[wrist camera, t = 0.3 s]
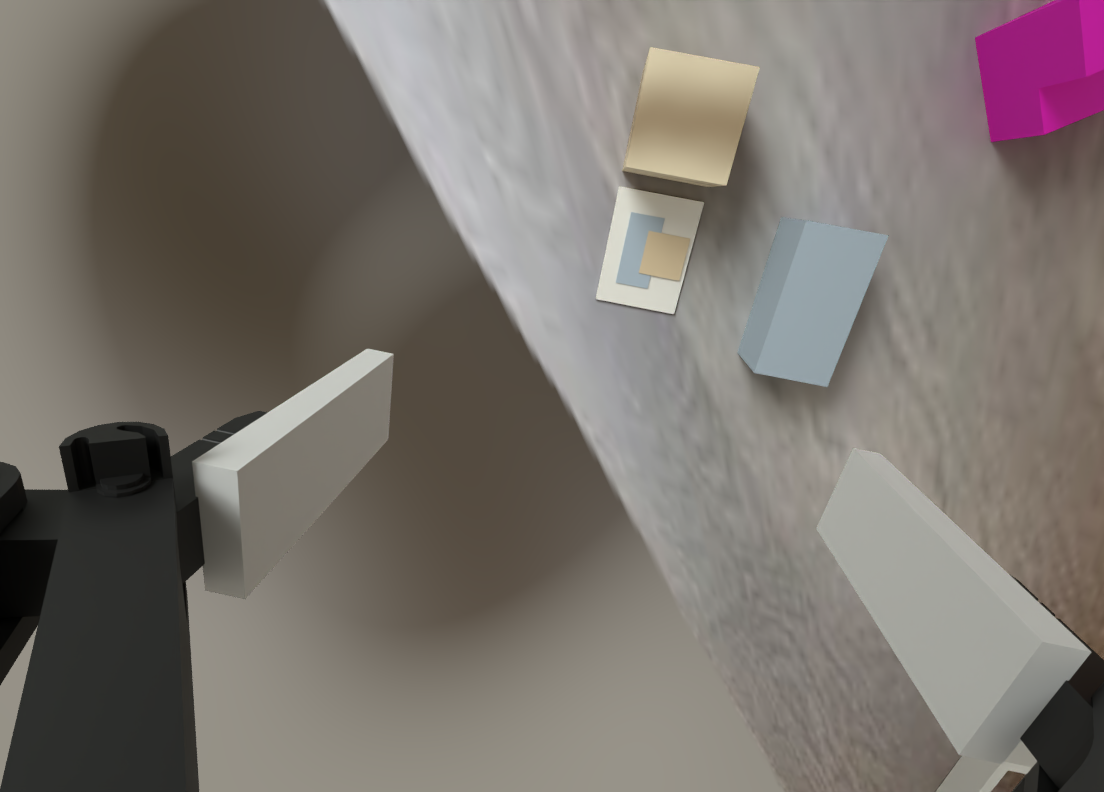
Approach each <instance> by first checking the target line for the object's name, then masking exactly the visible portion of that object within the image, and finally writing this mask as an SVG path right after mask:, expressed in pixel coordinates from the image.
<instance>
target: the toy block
mask: <svg viewBox="0 0 1104 792" xmlns="http://www.w3.org/2000/svg"><path fill="white" fill-rule="evenodd" d="M975 41H976V48H977V54H978V61H979V67H980V74H981V80H982V87H983V93H984V100H985V106H986V113H987V119H988V126H989V132H990V139H991V142H995V141H1003V140H1010V139H1017V138H1025V137H1032V136H1039V135H1045V134H1047V133H1050V132H1052V131H1055V130H1057V129H1059V128H1062V127H1064V126H1067V125H1069V124H1071V123H1074V122H1076V121H1079V120H1081V119H1084V118H1086V117H1088V116H1091V115H1093V114H1096V113H1098V112H1100V111H1103V110H1104V0H1055V1H1052V2H1050V3H1048V4H1046V5H1044V6H1042V7H1040V8H1037V9H1035V10H1033V11H1031V12H1029V13H1027V14H1025V15H1022V16H1020V17H1018V18H1016V19H1014V20H1012V21H1010V22H1007V23H1005V24H1003V25H1001V26H999V27H997V28H995V29H992V30H990V31H988V32H986V33H984V34H982V35H980V36H977V37H975Z"/></svg>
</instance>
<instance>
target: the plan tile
mask: <svg viewBox="0 0 1104 792" xmlns="http://www.w3.org/2000/svg"><path fill="white" fill-rule="evenodd" d="M703 205H704V202H700V201H694V200H689V199H684V198H678V197H673V196H668V195H663V194H657V193H652V192H647V191H641V190H636V189H631V188H626V187H620V186H619V189H618V194H617V199H616V204H615V209H614V213H613V218H612V223H611V228H610V232H609V237H608V242H607V247H606V252H605V256H604V261H603V266H602V271H601V276H600V280H599V285H598V290H597V295H596V299H598V300H603V301H608V302H614V303H619V304H624V305H629V306H634V307H639V308H644V309H649V310H655V311H660V312H665V313H670V314H674V312H675V309H676V305H677V301H678V298H679V294H680V290H681V287H682V283H683V279H684V275H685V272H686V268H687V264H688V261H689V257H690V253H691V250H692V246H693V242H694V238H695V235H696V231H697V227H698V224H699V220H700V216H701V213H702V209H703Z"/></svg>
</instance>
